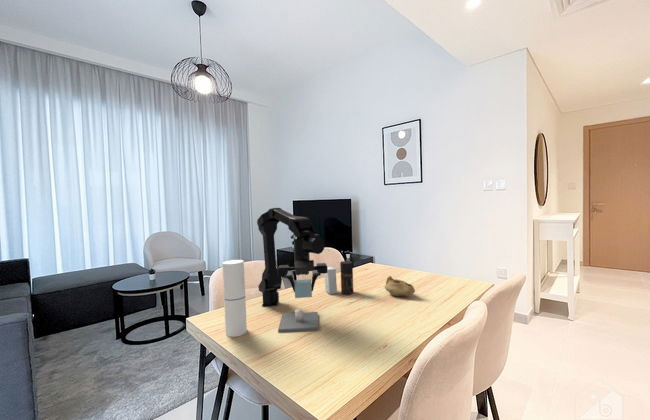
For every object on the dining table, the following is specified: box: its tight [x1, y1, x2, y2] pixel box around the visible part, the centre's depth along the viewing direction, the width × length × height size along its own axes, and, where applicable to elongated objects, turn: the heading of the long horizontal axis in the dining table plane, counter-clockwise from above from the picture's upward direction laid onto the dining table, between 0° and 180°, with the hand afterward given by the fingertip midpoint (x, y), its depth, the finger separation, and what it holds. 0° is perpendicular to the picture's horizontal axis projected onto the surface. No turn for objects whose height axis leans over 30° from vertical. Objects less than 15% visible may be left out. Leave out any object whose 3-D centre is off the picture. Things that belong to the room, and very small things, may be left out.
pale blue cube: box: [294, 278, 313, 299], centre depth 109 cm, size 6×6×5 cm
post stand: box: [277, 308, 319, 333], centre depth 107 cm, size 14×14×5 cm
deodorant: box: [340, 260, 354, 296], centre depth 140 cm, size 6×6×15 cm
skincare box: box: [323, 266, 338, 295], centre depth 141 cm, size 6×4×12 cm
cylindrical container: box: [221, 259, 248, 338], centre depth 101 cm, size 7×7×25 cm
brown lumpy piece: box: [384, 275, 416, 297], centre depth 134 cm, size 11×15×8 cm
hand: (303, 291), depth 109 cm, fingers closed on pale blue cube, 6 cm apart
